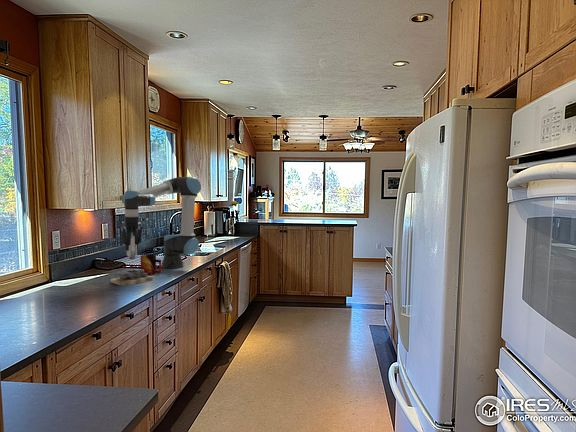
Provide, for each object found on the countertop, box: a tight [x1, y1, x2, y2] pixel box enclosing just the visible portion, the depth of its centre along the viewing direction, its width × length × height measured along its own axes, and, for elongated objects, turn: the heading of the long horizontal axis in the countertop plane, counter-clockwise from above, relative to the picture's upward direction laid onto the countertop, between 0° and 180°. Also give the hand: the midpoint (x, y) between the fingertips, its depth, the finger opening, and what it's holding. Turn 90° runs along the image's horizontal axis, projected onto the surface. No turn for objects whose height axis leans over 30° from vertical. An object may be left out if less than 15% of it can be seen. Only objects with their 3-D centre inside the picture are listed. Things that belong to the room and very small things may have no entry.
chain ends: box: [110, 268, 154, 287], centre depth 231 cm, size 19×14×6 cm
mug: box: [140, 254, 162, 276], centre depth 253 cm, size 10×14×12 cm
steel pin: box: [128, 234, 136, 260], centre depth 230 cm, size 4×4×14 cm
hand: (131, 255), depth 230 cm, fingers closed on steel pin, 3 cm apart
